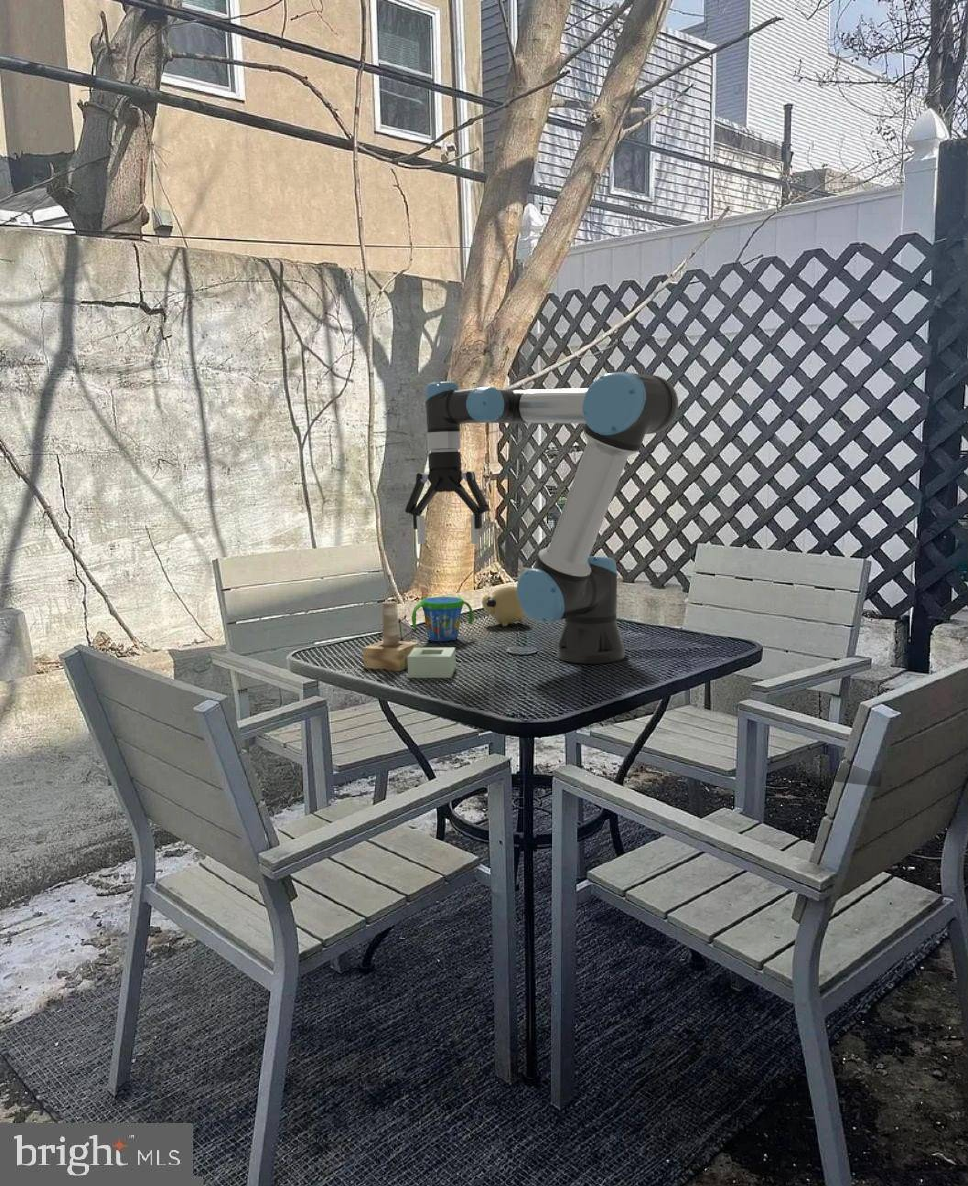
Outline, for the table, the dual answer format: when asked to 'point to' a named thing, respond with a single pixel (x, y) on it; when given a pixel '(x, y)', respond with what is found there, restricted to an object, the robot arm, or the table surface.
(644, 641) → the table surface
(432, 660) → the sage bead
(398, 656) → the wooden square ring
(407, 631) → the game die
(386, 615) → the dowel
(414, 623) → the snack cup
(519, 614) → the beige fuzzy round body
